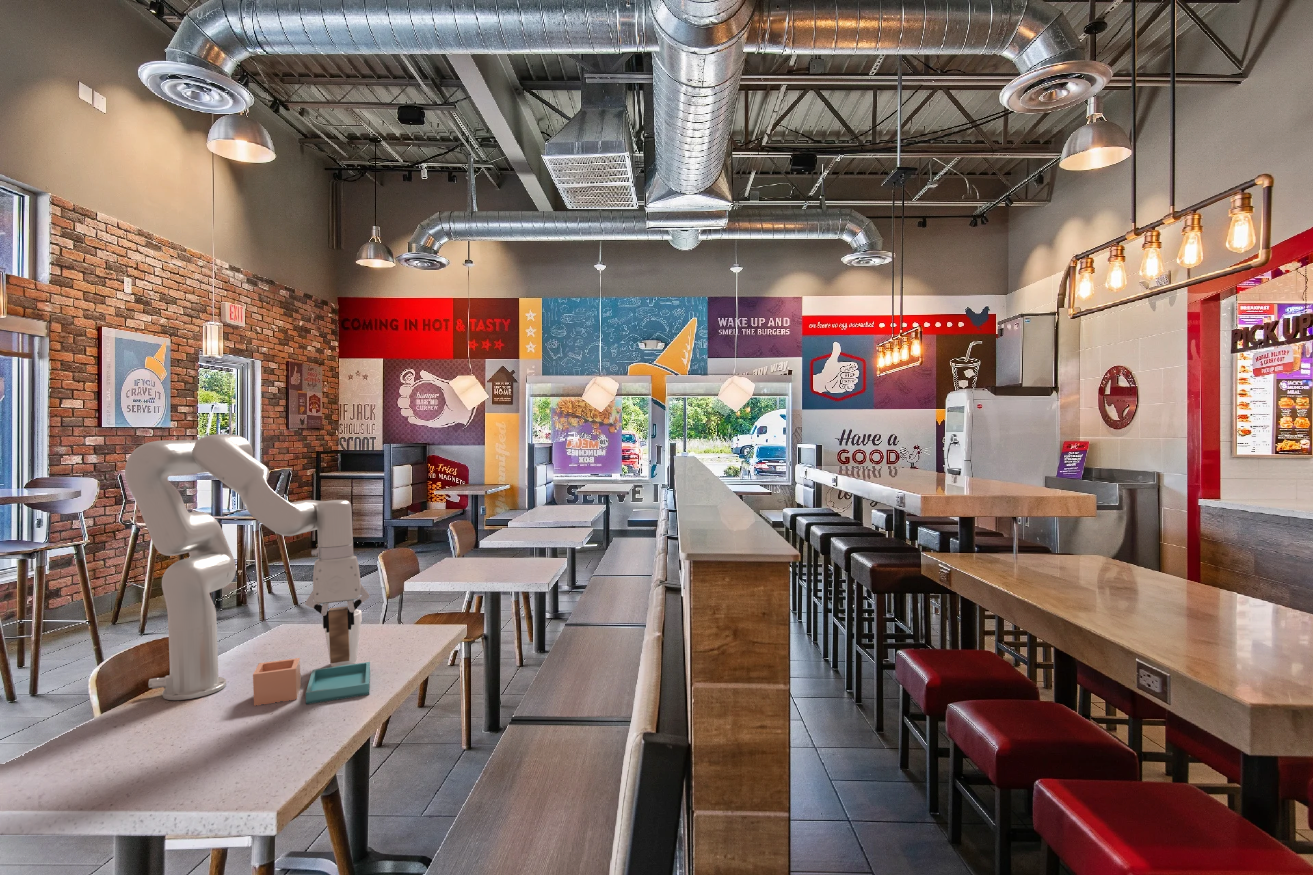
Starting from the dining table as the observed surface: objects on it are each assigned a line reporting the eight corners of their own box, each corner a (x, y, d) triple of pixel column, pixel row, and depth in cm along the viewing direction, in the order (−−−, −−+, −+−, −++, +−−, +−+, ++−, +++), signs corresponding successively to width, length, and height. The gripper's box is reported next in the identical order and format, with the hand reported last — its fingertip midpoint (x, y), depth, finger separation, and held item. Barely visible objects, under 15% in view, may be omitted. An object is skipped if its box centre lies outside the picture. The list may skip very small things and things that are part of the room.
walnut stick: (330, 663, 162) (328, 612, 161) (331, 658, 165) (329, 608, 165) (349, 660, 163) (347, 609, 163) (349, 655, 167) (347, 606, 167)
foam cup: (353, 668, 177) (351, 618, 177) (317, 669, 177) (315, 619, 177) (369, 656, 186) (367, 608, 186) (335, 657, 187) (333, 609, 187)
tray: (306, 704, 154) (305, 693, 154) (312, 679, 170) (312, 669, 170) (369, 694, 159) (368, 683, 159) (370, 671, 174) (369, 661, 174)
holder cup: (253, 705, 154) (252, 674, 154) (260, 692, 162) (259, 663, 162) (296, 699, 157) (295, 668, 157) (300, 686, 165) (299, 657, 165)
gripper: (294, 558, 157) (298, 638, 158) (373, 551, 164) (377, 628, 164) (298, 553, 164) (301, 630, 164) (374, 547, 171) (377, 621, 171)
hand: (339, 628), depth 164 cm, fingers closed on walnut stick, 4 cm apart
